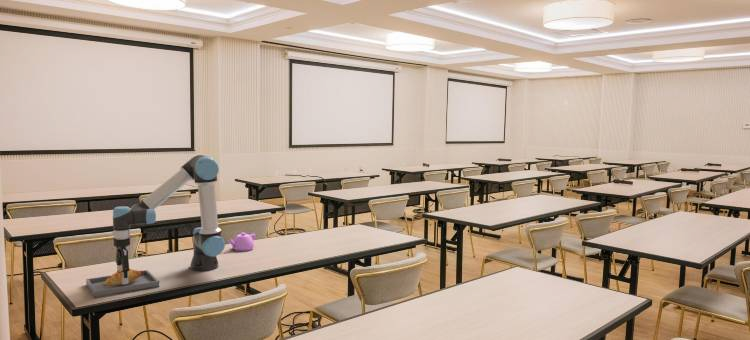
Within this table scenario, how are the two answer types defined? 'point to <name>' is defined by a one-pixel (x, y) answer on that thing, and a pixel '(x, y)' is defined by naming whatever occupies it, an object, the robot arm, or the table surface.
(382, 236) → the table surface
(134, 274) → the croissant
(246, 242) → the teapot
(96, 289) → the serving tray
